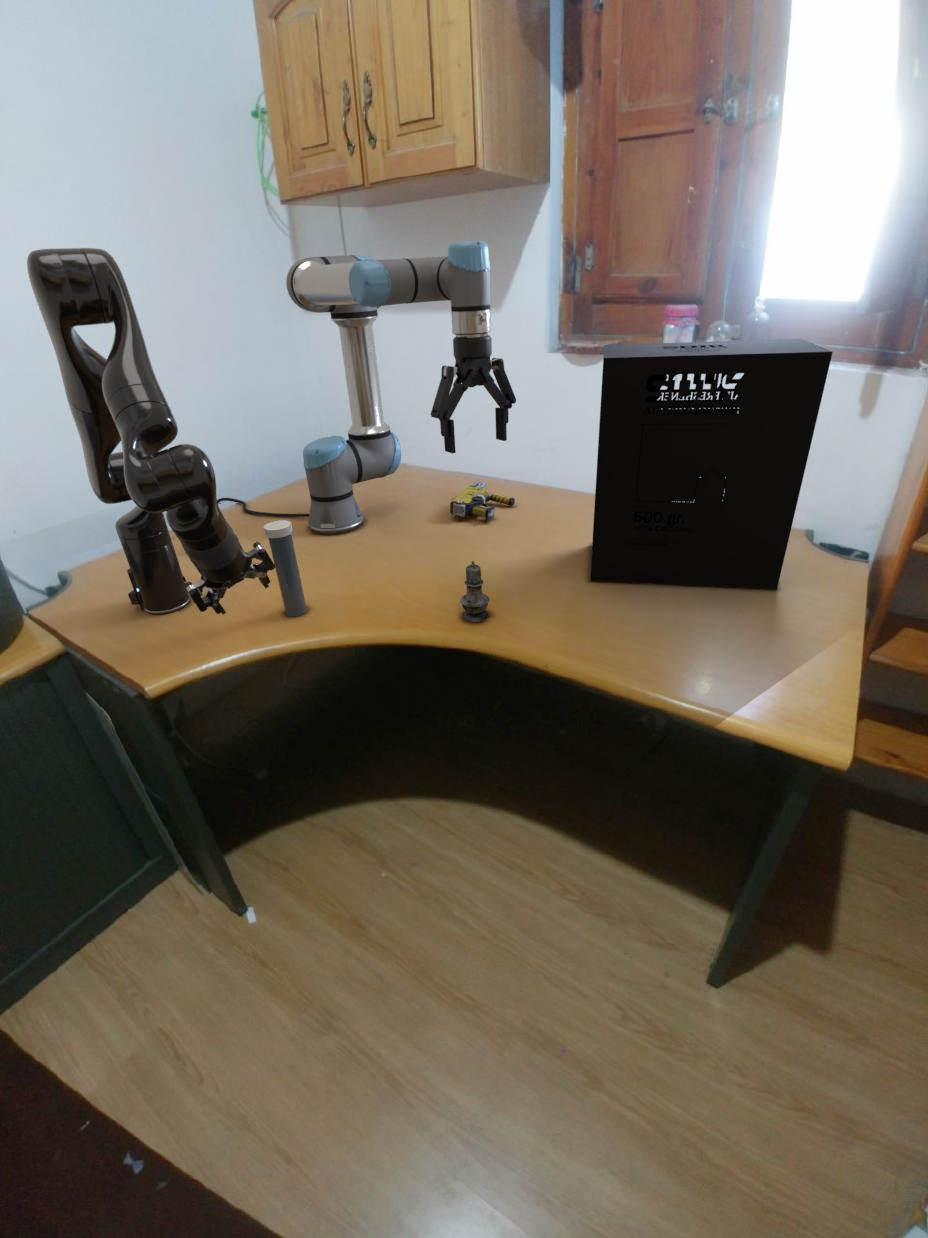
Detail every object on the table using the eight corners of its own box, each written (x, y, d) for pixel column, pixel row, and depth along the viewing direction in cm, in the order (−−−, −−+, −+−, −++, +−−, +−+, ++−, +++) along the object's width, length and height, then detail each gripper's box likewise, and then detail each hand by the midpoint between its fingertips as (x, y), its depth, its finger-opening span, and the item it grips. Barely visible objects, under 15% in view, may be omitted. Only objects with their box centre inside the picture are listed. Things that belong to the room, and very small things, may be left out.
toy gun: (523, 485, 181) (476, 478, 185) (501, 509, 161) (448, 500, 165) (521, 500, 184) (475, 493, 187) (499, 525, 163) (447, 517, 167)
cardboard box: (756, 549, 141) (800, 338, 118) (776, 589, 124) (832, 351, 101) (592, 544, 148) (604, 344, 126) (590, 580, 131) (603, 357, 109)
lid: (289, 537, 116) (287, 529, 115) (262, 538, 116) (260, 530, 115) (295, 527, 120) (293, 519, 119) (269, 528, 120) (267, 520, 119)
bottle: (304, 616, 125) (286, 530, 115) (283, 617, 125) (263, 532, 115) (308, 605, 129) (291, 522, 119) (288, 606, 129) (269, 523, 119)
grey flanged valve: (487, 623, 118) (485, 567, 112) (458, 621, 119) (454, 566, 113) (492, 608, 123) (490, 554, 117) (464, 607, 124) (461, 553, 118)
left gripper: (242, 508, 96) (267, 561, 110) (158, 555, 91) (196, 604, 106) (267, 540, 93) (289, 590, 108) (182, 589, 89) (217, 634, 103)
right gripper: (429, 342, 108) (437, 460, 118) (533, 329, 120) (532, 437, 131) (407, 340, 113) (417, 454, 124) (508, 328, 125) (510, 432, 136)
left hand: (243, 597), depth 107 cm, fingers open, 8 cm apart
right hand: (476, 445), depth 127 cm, fingers open, 13 cm apart
